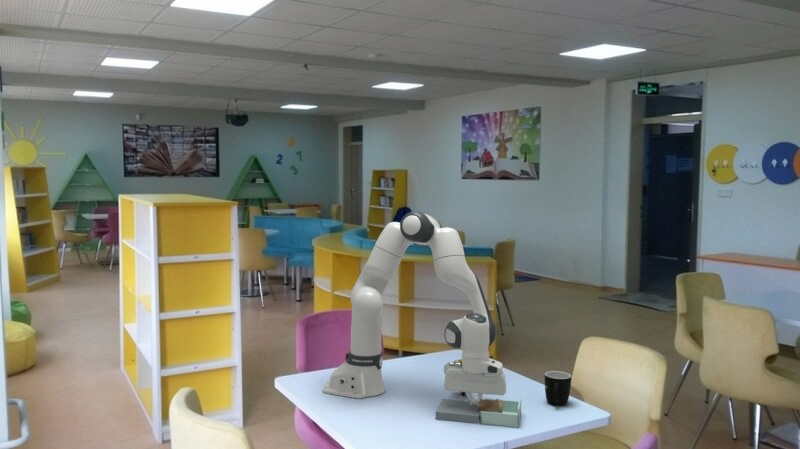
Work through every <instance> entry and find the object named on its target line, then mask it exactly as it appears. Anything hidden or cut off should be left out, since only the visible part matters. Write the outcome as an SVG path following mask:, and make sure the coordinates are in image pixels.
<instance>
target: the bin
mask: <svg viewBox="0 0 800 449" xmlns="http://www.w3.org/2000/svg"><path fill="white" fill-rule="evenodd" d="M484 399H485V400H491V401H496V399H497V398H484ZM503 400H504V403H503V410H502V413H495V412H485V411H481V419H480V422H479V424H480V425H487V426H497V427H508V428H514V429H515V428H516V429H518V428H519V427H520V422H521V416H522V395H519V399H518V401H517V400H510V399H509V400H506V399H503Z"/></svg>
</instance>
